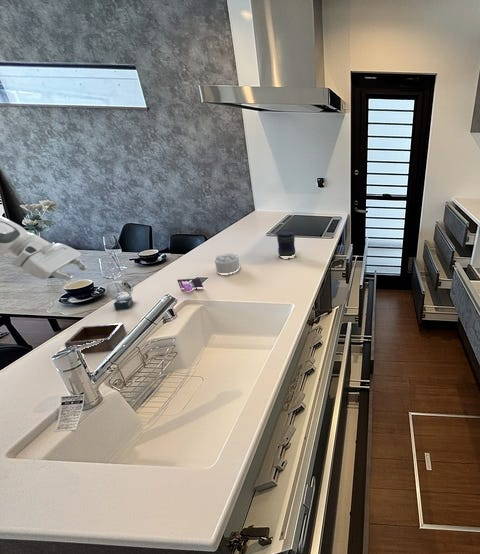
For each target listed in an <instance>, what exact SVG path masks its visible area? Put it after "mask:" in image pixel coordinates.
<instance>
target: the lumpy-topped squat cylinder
mask: <svg viewBox="0 0 480 554" xmlns="http://www.w3.org/2000/svg"><path fill="white" fill-rule="evenodd" d="M214 263H215V269H216V274H217V275H218V276H219V277H222V276H224V278H226V277H231V276H230V275H232V274H233V275H232V276H235V275H237V274H239V272H240V270H241V265H240V258H239V255H238V254H234V253H223V254H221V255H220V254H219V255H217V256H216V257H215V259H214ZM239 266H240V268H239ZM238 268H239V270H238V271H237V272H235V273H232V274H228V275H221V274H218V273H217V272H219V273H230V272H234V271H236V270H237V269H238ZM225 276H226V277H225Z"/></svg>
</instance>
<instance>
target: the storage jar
mask: <svg viewBox="0 0 480 554" xmlns="http://www.w3.org/2000/svg"><path fill="white" fill-rule="evenodd" d="M276 239H277V245H278V247H277V248H278V250H277V252H278V256H279V255H280V256H292V255H294V254H295V255H296V247H295V241H296V240H295V231H294V230H290V229H282V230H278V231H277V232H276Z"/></svg>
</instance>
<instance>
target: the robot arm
mask: <svg viewBox="0 0 480 554" xmlns="http://www.w3.org/2000/svg"><path fill="white" fill-rule="evenodd" d="M7 251H9V252H10V253H11V254H13V255H14V256H16V257H15V259H14V260H13V261H12V263H11V265H12V266H13V267H15V268H21V270H22V271H24V272H26V273H27V274H29V275H31V276H33V277H34V278H38V279H42V280H46V279H48V278H49V277H51V276H52V277H54V278H57V279H63V280H65V281H67V282H69V281H71V280H72V279H73V278H74V276H73V275H72V274H70V273H64V272H62V271H61V270H63V269H65V268H66V267H68V266H70V265H71V264H73V265H76V266H77V267H78V269H77V270H80V271H82V272H83V271H84V272H85V270H87V269H88V265H86V264H84V263H83V262H82V260H81V259H80V257H81V256H82V253H81V252H80V251H78V250H77V249H75V248H73V247H71V246H69V245H67V244H64V243H60V242H50V241H48V240H46V239H44V238H42V237H40V236H39V235H37V234H36V233H32V232H29V231H28V230H26V229H25V228H24V227H23V226H21V225H20V224H18V223H16V222H14V221H12V220H10V219H9V218H6V217H4V216H2V215H0V259H1V258H2V257H4V256H5V254H6V253H7Z"/></svg>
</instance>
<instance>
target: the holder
mask: <svg viewBox="0 0 480 554" xmlns="http://www.w3.org/2000/svg"><path fill="white" fill-rule="evenodd" d="M126 335H127V331H126V328H125V325H124V323H123V322H119V323H109V324H97V325H86V326H81V328H79V329H78V330H77V331H76V332H75V333H74V334H73V335H72V336H71V337H70V338H69V339H68V340H67V341H65V343H64V346H65V348H66V349H67V348H68V347H70V346H73V345H83V344H86V343H91V342H93V341H97V340H100V339H104V341H103V342H101V343H99V344H97V345H94V346H91V347H89V348H85V349H83V350H81V353H82V354H90V353H92V354H93V353H101V352H110V351H114V350H115V348H116V347H117V346H118V345H119V344H120V342H121V341H122V340H123V339H124V338H125V336H126ZM113 349H114V350H113Z"/></svg>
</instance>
